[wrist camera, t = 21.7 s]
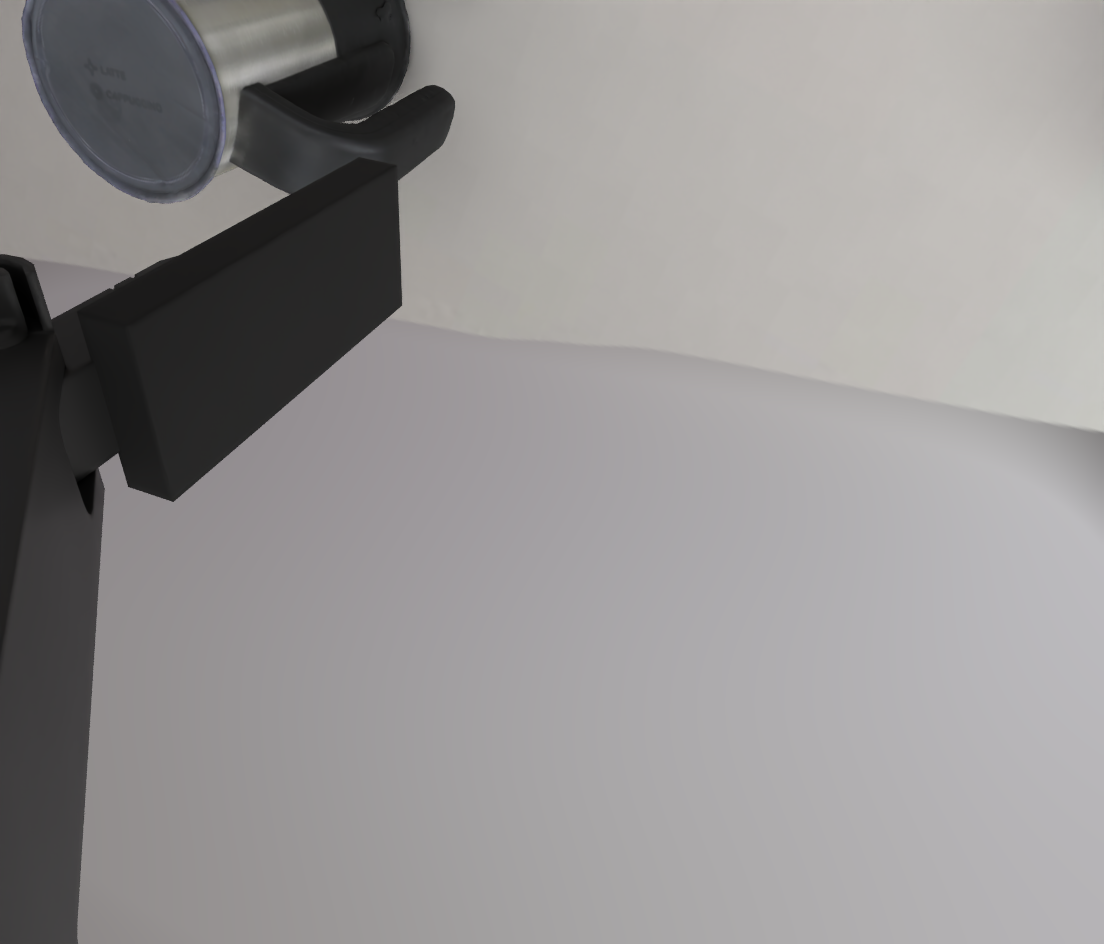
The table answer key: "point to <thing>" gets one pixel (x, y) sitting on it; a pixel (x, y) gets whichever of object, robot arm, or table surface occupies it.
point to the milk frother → (229, 89)
